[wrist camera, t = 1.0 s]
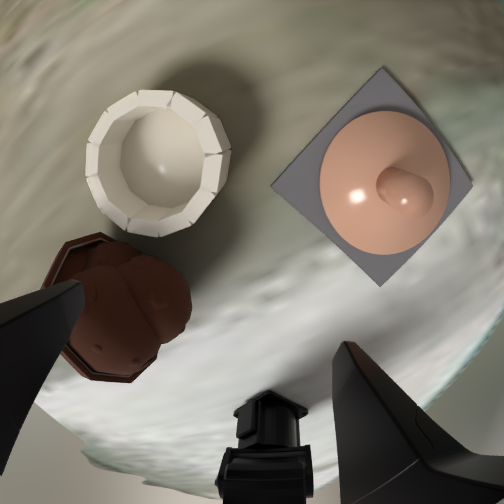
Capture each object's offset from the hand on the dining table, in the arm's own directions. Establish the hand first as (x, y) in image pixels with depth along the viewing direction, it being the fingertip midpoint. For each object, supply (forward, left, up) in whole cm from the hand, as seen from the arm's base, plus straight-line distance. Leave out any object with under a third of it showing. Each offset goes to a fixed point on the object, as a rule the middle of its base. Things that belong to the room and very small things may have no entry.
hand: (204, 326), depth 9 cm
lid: (-6, -9, -12) cm, 16 cm away
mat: (-6, -9, -13) cm, 17 cm away
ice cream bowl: (+8, +18, -9) cm, 22 cm away
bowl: (+7, 0, -13) cm, 15 cm away
